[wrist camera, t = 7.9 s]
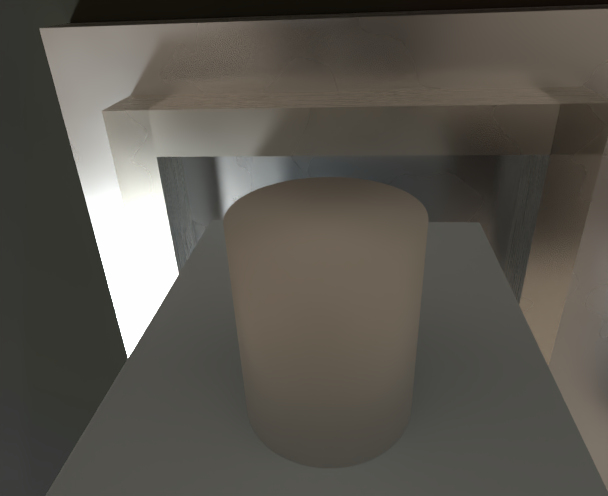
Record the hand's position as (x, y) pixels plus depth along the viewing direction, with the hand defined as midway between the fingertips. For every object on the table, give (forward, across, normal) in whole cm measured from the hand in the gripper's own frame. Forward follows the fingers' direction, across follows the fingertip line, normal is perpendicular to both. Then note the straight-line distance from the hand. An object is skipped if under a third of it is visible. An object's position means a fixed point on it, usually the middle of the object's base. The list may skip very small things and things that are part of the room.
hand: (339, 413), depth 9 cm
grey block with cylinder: (+1, 0, -1) cm, 2 cm away
